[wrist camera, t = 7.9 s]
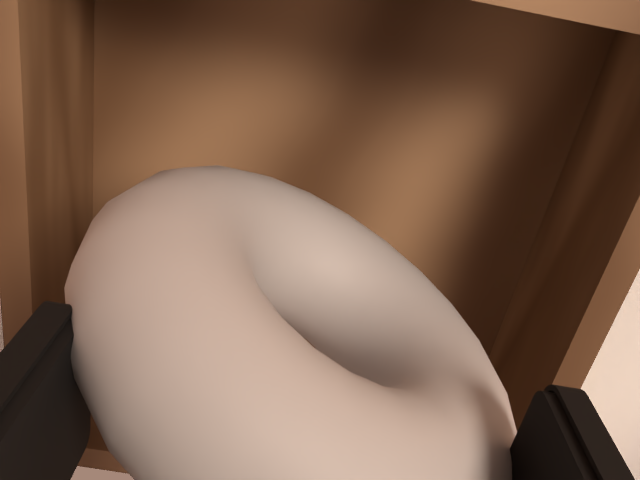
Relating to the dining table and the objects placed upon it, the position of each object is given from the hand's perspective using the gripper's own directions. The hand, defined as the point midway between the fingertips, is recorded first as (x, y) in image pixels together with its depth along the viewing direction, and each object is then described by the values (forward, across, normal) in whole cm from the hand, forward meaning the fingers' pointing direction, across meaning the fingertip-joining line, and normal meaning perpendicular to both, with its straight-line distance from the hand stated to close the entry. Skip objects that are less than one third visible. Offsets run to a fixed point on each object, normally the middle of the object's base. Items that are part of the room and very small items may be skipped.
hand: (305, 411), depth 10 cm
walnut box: (+10, 0, 0) cm, 10 cm away
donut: (+7, 0, 0) cm, 7 cm away
